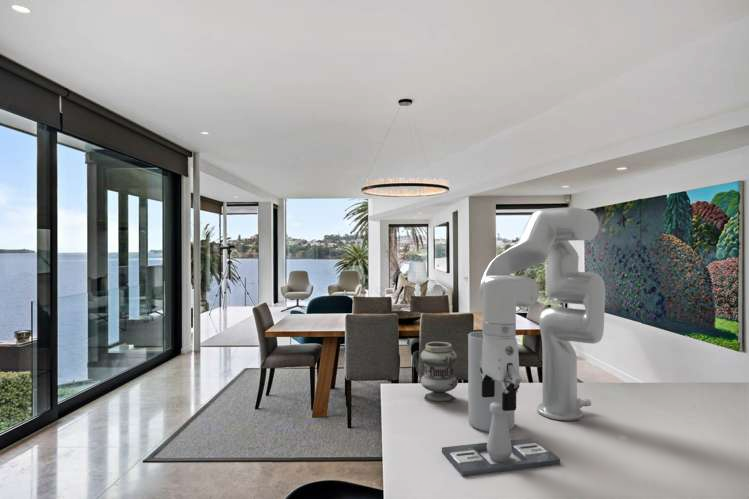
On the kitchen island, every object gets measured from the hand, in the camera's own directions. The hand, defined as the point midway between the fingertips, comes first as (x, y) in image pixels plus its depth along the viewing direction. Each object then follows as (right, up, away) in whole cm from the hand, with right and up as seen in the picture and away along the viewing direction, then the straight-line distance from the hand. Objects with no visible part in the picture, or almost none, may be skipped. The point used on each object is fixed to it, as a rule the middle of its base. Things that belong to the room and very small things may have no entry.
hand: (498, 403), depth 105 cm
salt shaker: (0, -13, 0) cm, 13 cm away
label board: (0, -13, 0) cm, 13 cm away
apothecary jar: (-8, -13, +43) cm, 45 cm away
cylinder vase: (+4, -13, +21) cm, 25 cm away
